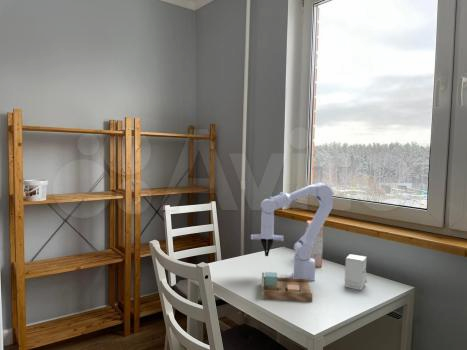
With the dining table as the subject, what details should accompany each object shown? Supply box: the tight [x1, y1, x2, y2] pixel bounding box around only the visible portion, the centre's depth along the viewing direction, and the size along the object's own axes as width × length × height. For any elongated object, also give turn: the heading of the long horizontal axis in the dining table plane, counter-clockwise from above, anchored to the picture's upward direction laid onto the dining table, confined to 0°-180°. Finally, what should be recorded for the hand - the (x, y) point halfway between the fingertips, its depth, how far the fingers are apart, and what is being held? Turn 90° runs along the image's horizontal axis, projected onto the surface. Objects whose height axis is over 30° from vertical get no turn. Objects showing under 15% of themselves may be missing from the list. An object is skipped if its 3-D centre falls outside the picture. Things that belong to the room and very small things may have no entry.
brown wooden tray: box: [260, 272, 314, 303], centre depth 143 cm, size 20×15×5 cm
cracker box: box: [305, 220, 324, 268], centre depth 180 cm, size 14×6×21 cm, turn 179°
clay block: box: [287, 285, 300, 292], centre depth 139 cm, size 4×4×4 cm
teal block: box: [264, 271, 278, 286], centre depth 146 cm, size 5×5×4 cm
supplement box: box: [343, 253, 367, 291], centre depth 150 cm, size 7×7×13 cm
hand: (266, 255), depth 159 cm, fingers closed
